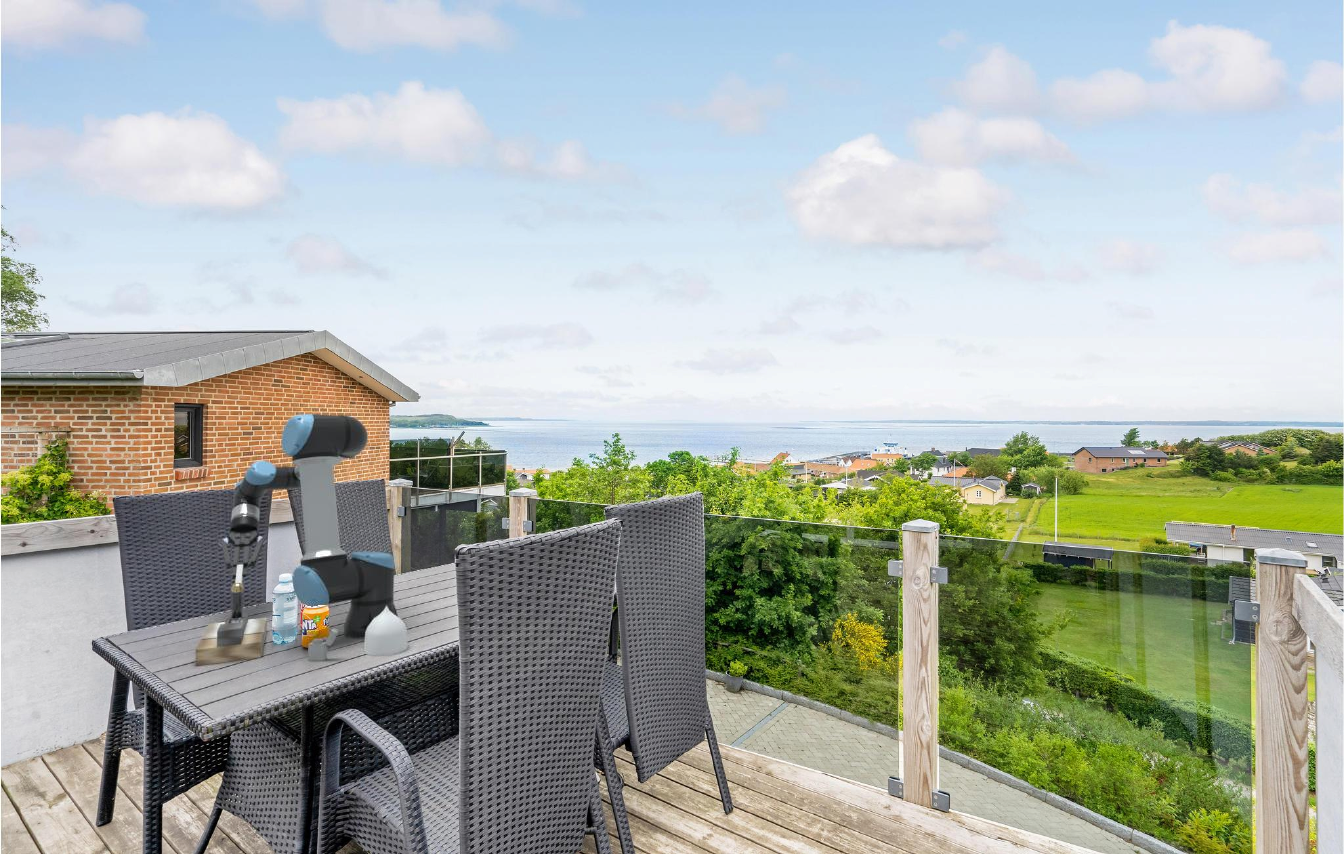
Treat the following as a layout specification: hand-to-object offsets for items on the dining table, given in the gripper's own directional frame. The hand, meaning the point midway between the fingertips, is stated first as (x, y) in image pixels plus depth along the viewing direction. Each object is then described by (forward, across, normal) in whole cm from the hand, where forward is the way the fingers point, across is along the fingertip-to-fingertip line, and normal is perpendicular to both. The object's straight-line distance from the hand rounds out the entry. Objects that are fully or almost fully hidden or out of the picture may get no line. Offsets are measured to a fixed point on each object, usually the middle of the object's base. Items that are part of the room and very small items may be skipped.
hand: (238, 585), depth 195 cm
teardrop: (+36, -37, +17) cm, 54 cm away
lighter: (+37, -22, +18) cm, 47 cm away
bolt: (+16, -1, +4) cm, 17 cm away
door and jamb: (+22, -1, +4) cm, 22 cm away
